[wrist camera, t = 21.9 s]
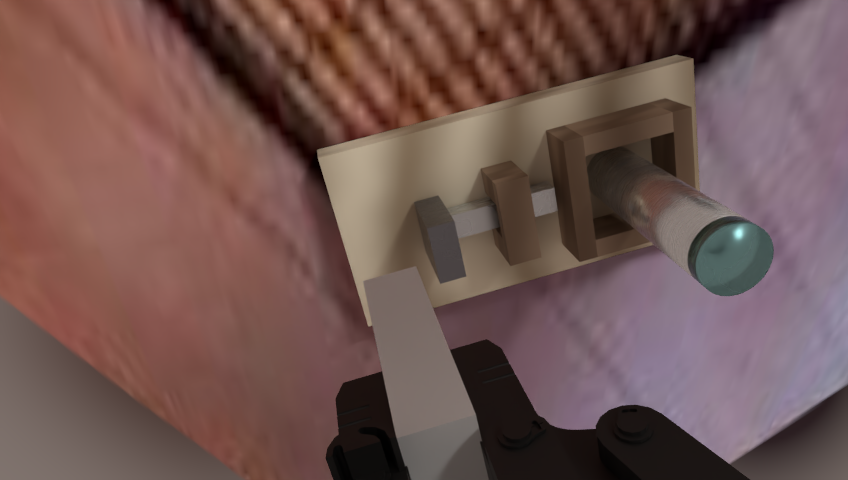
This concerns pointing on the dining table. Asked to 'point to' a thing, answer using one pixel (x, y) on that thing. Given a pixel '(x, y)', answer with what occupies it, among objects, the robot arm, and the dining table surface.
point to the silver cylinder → (682, 222)
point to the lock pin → (466, 226)
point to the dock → (456, 179)
